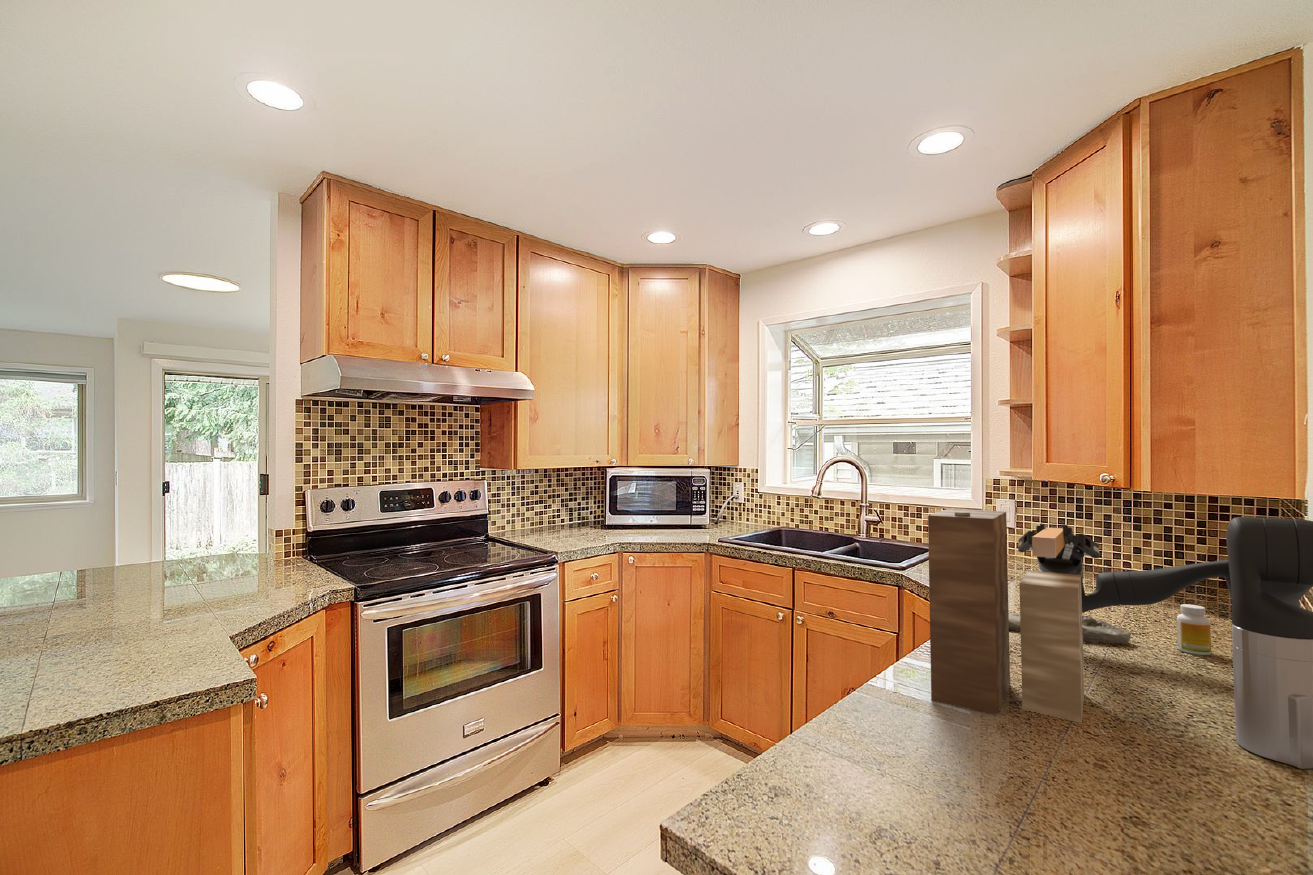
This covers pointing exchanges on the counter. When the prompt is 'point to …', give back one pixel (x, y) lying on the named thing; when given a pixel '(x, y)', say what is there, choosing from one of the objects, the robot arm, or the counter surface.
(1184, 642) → the supplement bottle
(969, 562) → the tall stand
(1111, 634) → the long grey stone
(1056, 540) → the pale tan wood block
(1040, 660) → the short stand
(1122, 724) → the counter surface
